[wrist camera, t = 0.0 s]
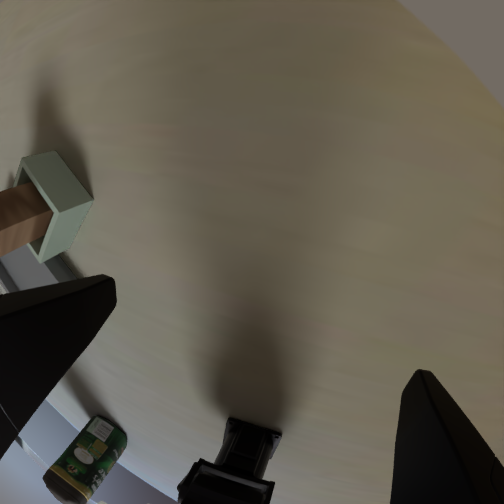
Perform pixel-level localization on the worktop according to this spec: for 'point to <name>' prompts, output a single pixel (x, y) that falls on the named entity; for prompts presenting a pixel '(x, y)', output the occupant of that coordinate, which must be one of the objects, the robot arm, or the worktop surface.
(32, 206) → the square block
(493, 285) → the worktop surface
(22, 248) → the tray
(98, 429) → the coffee jar
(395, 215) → the worktop surface
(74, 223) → the mint green open box
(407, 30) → the worktop surface
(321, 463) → the worktop surface
